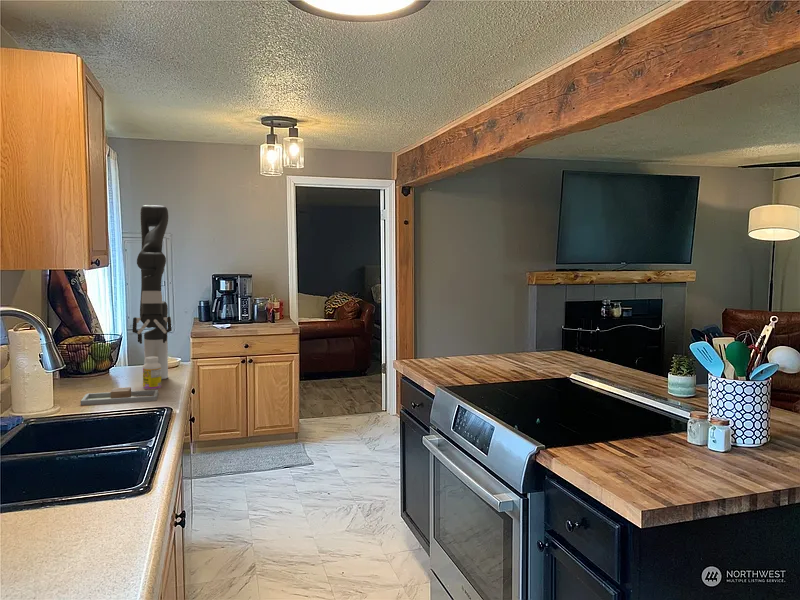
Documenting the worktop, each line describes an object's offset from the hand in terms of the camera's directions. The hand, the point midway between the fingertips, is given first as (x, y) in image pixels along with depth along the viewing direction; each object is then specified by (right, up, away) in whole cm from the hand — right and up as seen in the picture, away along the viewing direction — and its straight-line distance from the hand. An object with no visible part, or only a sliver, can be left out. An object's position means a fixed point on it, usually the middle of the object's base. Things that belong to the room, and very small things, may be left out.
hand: (152, 343), depth 232 cm
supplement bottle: (+1, -18, -2) cm, 18 cm away
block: (-2, -19, -22) cm, 29 cm away
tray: (-2, -20, -22) cm, 30 cm away
